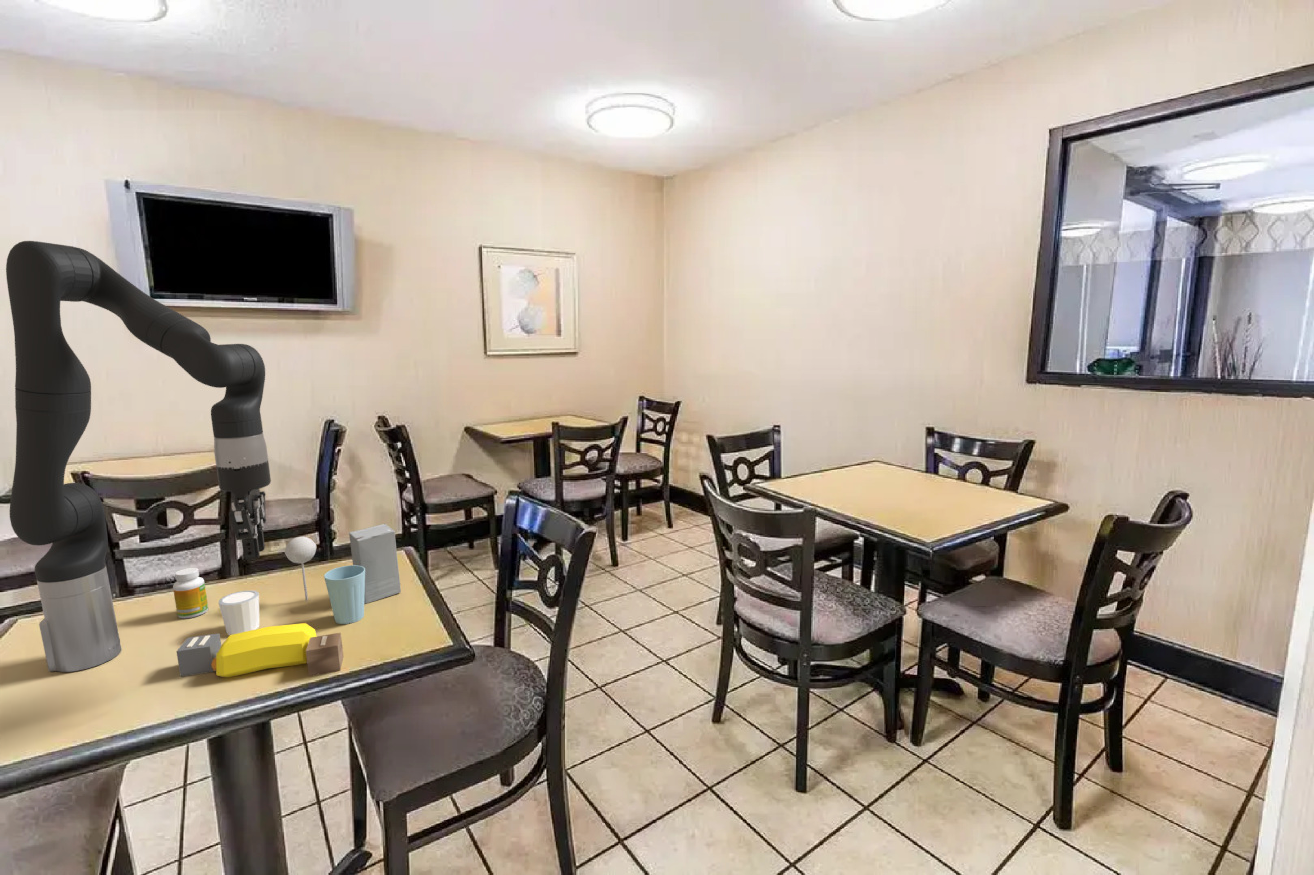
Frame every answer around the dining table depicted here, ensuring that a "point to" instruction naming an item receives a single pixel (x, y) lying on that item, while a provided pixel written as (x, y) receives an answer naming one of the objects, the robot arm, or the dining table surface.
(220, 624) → the dining table surface
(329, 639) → the walnut numbered block
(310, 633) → the yellow banana
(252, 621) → the shot glass
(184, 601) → the supplement bottle
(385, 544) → the skincare box
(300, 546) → the lollipop
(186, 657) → the charcoal numbered block
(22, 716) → the dining table surface
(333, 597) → the cup
